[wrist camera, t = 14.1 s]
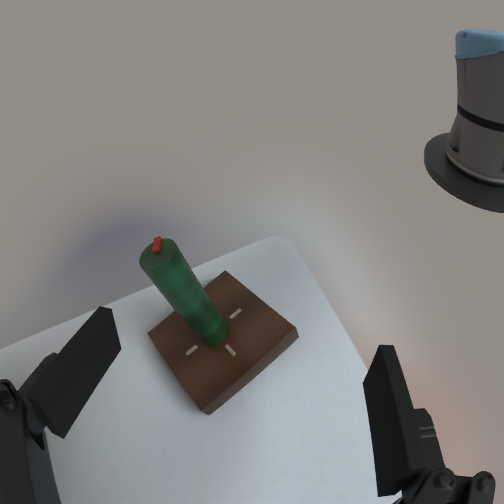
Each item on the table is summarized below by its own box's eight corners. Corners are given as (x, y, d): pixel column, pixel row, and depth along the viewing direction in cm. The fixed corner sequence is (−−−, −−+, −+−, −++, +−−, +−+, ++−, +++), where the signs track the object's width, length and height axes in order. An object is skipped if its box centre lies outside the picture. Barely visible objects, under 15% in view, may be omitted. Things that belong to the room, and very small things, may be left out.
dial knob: (229, 341, 29) (172, 259, 20) (200, 348, 29) (134, 271, 21) (226, 315, 31) (174, 230, 23) (198, 323, 31) (139, 243, 23)
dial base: (299, 337, 29) (296, 326, 28) (209, 415, 26) (200, 410, 24) (230, 280, 37) (224, 269, 36) (155, 341, 34) (146, 332, 32)
